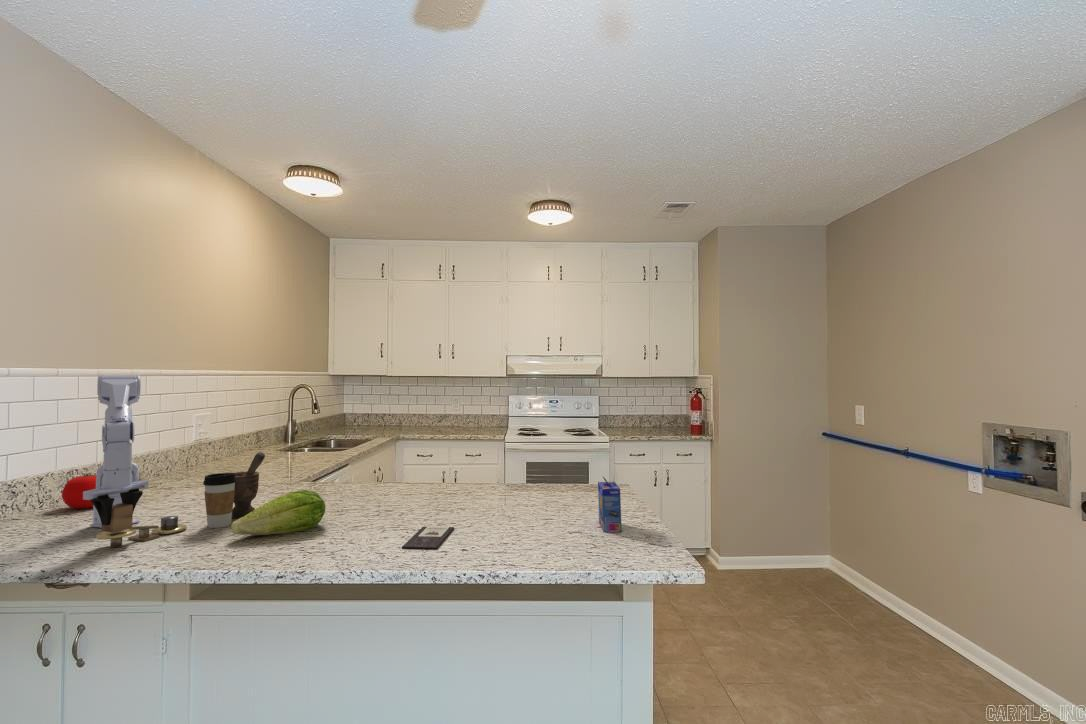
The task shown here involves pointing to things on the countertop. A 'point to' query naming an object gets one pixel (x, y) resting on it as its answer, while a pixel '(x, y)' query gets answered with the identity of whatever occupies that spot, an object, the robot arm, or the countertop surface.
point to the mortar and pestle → (246, 488)
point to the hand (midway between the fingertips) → (116, 522)
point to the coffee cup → (219, 498)
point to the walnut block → (120, 518)
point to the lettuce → (283, 515)
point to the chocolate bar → (428, 538)
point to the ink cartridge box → (609, 506)
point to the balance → (143, 532)
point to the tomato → (79, 491)
